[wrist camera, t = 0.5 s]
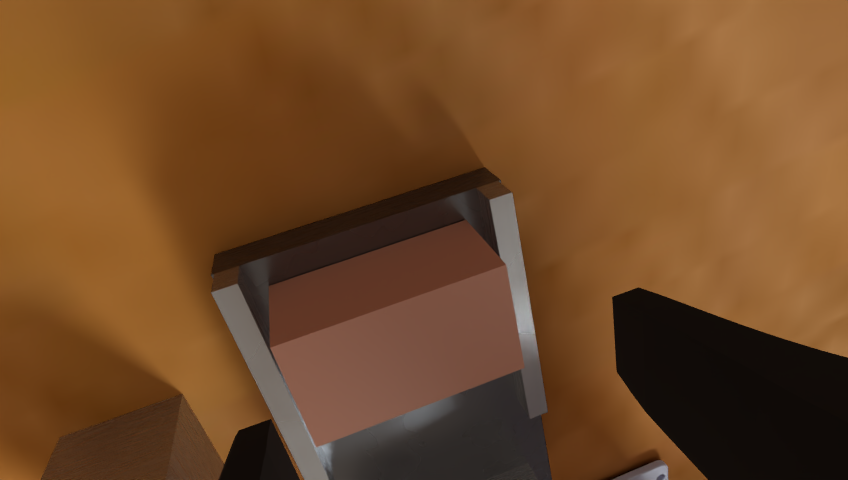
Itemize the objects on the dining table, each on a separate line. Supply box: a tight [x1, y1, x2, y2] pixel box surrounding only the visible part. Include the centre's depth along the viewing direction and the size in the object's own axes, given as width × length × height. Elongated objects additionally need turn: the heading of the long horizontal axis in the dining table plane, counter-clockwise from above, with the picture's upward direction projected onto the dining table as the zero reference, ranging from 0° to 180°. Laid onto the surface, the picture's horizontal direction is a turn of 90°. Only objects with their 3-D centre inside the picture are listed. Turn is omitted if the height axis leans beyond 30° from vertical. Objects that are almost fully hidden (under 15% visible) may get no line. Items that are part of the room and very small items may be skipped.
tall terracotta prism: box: [269, 220, 525, 448], centre depth 18 cm, size 4×7×4 cm, turn 103°
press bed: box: [211, 168, 552, 480], centre depth 20 cm, size 16×10×6 cm, turn 13°
